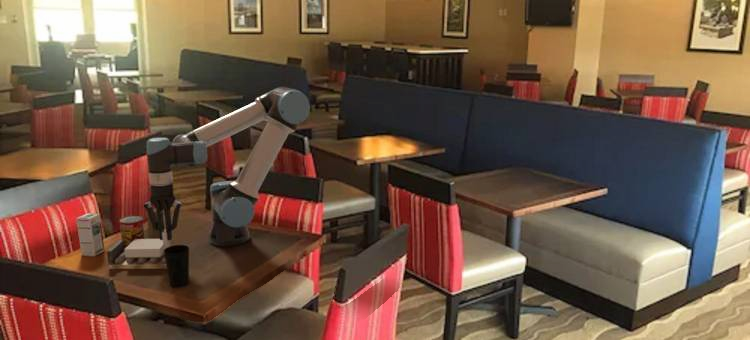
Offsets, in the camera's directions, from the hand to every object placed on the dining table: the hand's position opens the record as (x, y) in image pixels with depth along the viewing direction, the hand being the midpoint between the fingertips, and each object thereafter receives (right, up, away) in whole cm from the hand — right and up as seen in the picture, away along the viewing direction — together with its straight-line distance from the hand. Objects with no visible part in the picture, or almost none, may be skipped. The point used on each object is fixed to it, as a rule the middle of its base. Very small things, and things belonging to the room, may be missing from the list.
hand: (166, 248), depth 215 cm
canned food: (-16, -2, +13) cm, 21 cm away
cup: (+10, -9, -17) cm, 22 cm away
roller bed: (-7, -5, +1) cm, 9 cm away
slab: (-7, -1, 0) cm, 7 cm away
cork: (-14, +1, +26) cm, 30 cm away
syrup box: (-30, -3, +10) cm, 32 cm away
